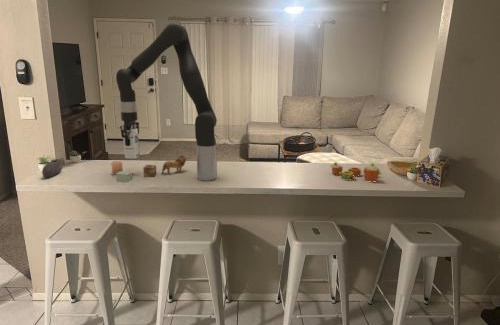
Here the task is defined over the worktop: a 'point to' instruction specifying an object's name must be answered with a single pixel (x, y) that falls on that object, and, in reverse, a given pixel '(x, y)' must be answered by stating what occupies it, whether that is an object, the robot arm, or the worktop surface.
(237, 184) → the worktop surface
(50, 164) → the perforated stone tool
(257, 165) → the worktop surface
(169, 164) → the lion figurine
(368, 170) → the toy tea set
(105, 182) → the worktop surface
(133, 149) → the syrup box
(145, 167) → the walnut block
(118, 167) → the orange-brown rounded piece
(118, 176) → the sage painted block
